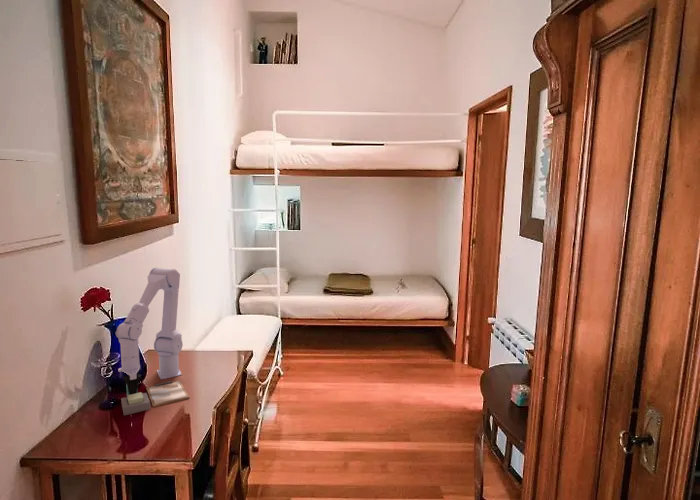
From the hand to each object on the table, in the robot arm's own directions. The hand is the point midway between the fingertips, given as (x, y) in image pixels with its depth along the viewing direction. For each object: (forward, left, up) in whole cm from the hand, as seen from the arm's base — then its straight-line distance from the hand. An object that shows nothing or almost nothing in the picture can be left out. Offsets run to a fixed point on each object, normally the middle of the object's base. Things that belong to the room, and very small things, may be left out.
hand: (132, 391), depth 153 cm
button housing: (+10, 0, -2) cm, 10 cm away
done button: (+10, 0, 0) cm, 10 cm away
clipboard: (+5, +11, -2) cm, 12 cm away
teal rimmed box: (0, 0, -2) cm, 2 cm away
